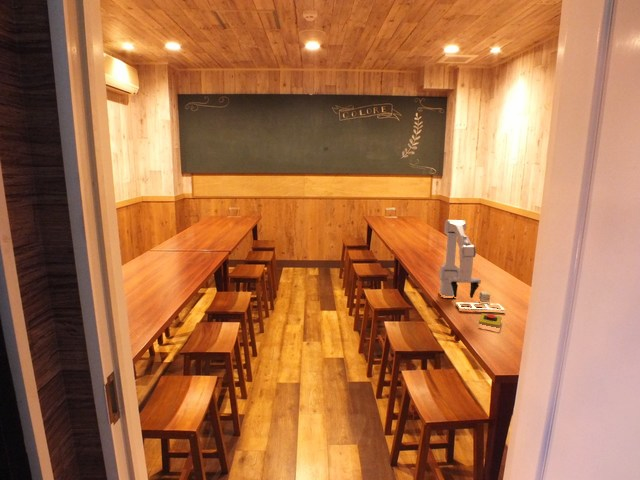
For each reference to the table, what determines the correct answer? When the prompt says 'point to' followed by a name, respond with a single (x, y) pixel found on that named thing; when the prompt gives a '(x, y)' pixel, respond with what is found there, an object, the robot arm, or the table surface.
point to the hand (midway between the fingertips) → (463, 296)
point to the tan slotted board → (479, 308)
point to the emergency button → (490, 320)
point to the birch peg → (484, 297)
